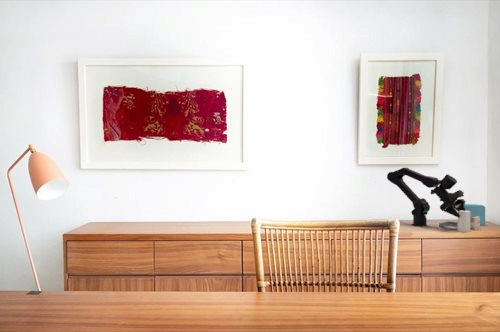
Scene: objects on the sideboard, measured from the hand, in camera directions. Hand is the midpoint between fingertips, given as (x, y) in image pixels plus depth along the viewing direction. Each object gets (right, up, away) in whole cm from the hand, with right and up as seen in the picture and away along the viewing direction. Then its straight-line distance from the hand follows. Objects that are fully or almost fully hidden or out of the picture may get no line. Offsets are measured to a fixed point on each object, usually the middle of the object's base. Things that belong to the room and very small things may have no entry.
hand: (463, 216), depth 231 cm
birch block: (+8, -8, +7) cm, 13 cm away
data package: (+17, -8, +22) cm, 29 cm away
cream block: (0, -8, 0) cm, 8 cm away
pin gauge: (-4, -6, +8) cm, 11 cm away
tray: (+1, -8, +13) cm, 15 cm away
